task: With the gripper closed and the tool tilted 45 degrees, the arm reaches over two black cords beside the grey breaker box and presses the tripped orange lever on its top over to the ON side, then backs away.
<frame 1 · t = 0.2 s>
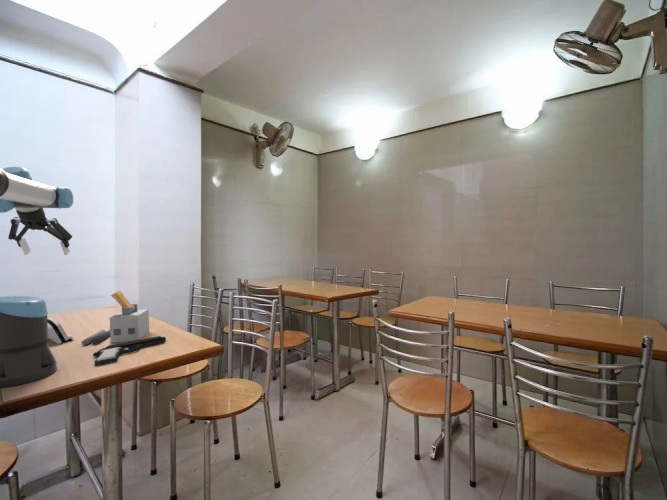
hand: (47, 253, 130), 35 cm above the table, tool tilted 35°, fingers open, 13 cm apart
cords: (99, 339, 126), on the table
breaker box: (130, 337, 129), on the table
lever: (123, 302, 128), point 15 cm above the table, hinge at -35.0°
handgun: (133, 353, 111), on the table
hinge: (55, 340, 127), on the table
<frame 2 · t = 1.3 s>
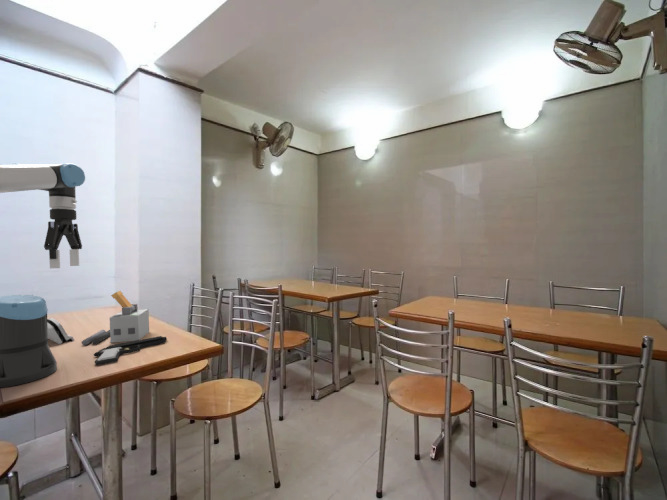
hand: (65, 267, 117), 30 cm above the table, tool pointing down, fingers open, 12 cm apart
nothing on the table moved.
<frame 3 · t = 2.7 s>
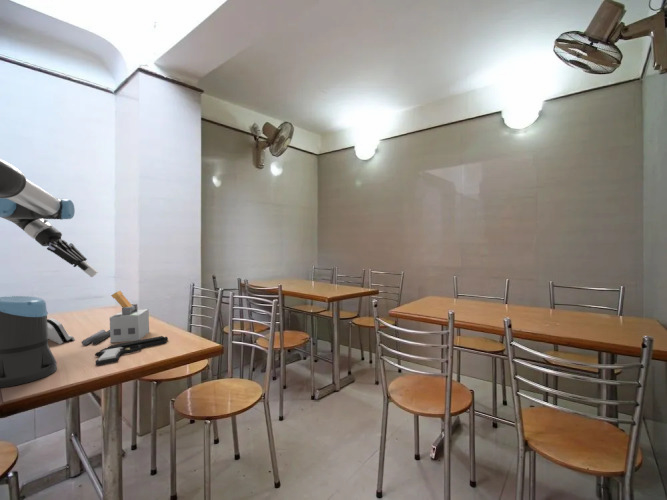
hand: (94, 274, 125), 26 cm above the table, tool tilted 45°, fingers closed
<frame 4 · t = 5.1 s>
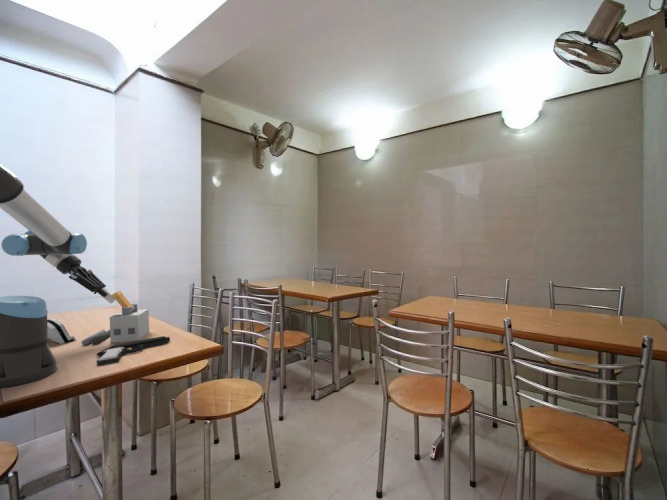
hand: (114, 300, 127), 15 cm above the table, tool tilted 45°, fingers closed
lever: (123, 302, 128), point 15 cm above the table, hinge at -35.0°, touching gripper
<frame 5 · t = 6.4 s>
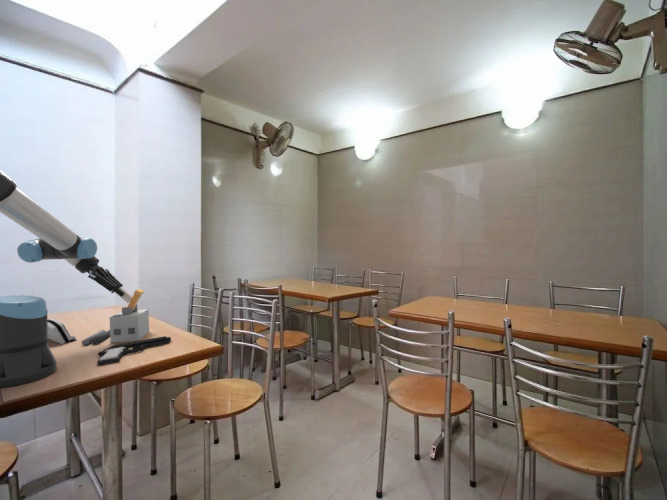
hand: (130, 300, 129), 15 cm above the table, tool tilted 45°, fingers closed
lever: (134, 301, 129), point 15 cm above the table, hinge at 27.3°, touching gripper
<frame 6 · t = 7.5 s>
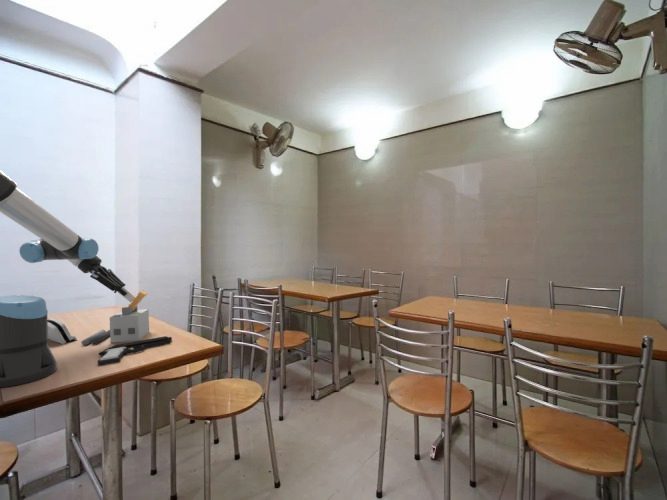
hand: (133, 299, 129), 15 cm above the table, tool tilted 45°, fingers closed
lever: (136, 302, 129), point 14 cm above the table, hinge at 38.8°
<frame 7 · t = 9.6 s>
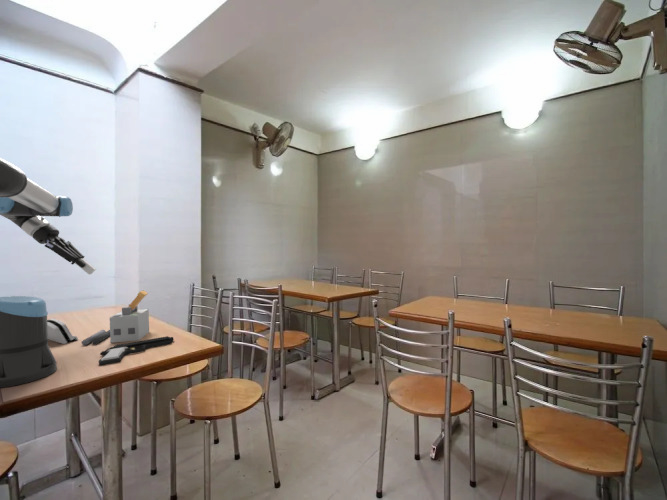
hand: (92, 271, 125), 28 cm above the table, tool tilted 45°, fingers closed
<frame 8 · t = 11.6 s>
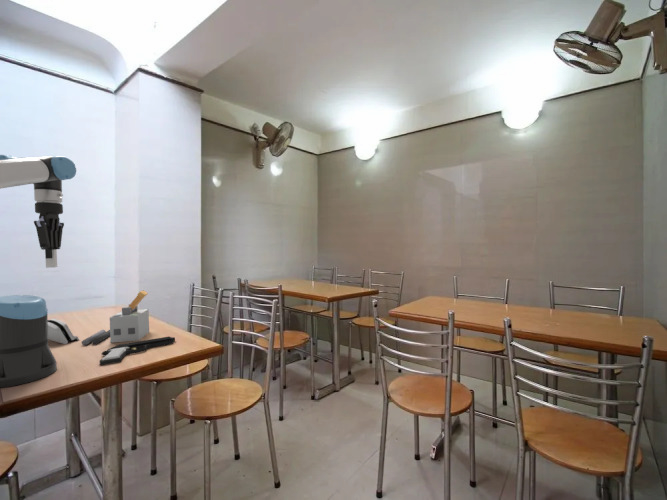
hand: (51, 267, 114), 30 cm above the table, tool pointing down, fingers closed
at the end: lever at +39° (first picture: -35°) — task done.
